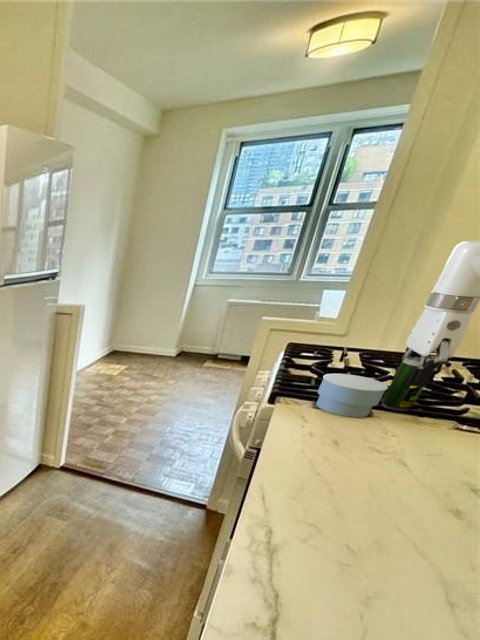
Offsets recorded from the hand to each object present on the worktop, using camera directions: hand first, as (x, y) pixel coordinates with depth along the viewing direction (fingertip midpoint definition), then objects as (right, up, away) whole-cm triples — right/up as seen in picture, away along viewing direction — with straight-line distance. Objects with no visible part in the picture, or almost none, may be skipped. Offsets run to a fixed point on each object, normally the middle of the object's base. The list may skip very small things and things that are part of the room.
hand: (409, 380), depth 113 cm
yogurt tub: (-13, -6, +3) cm, 15 cm away
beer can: (0, -6, +3) cm, 7 cm away
